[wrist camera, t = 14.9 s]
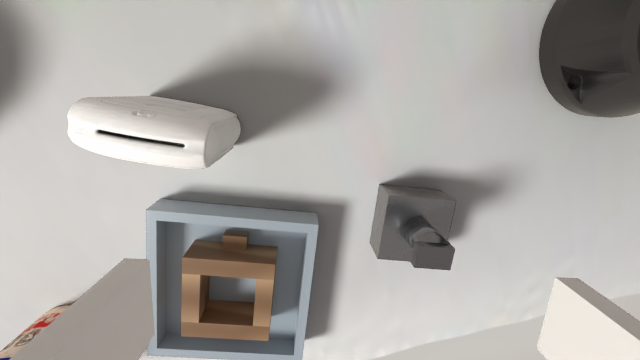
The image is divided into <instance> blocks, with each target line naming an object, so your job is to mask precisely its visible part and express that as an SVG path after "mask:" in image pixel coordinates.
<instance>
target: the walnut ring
mask: <svg viewBox="0 0 640 360" xmlns="http://www.w3.org/2000/svg"><path fill="white" fill-rule="evenodd" d="M248 241H249V232H248V231H236V230H225V232H224V234H223V241H222V242H214V241H202V240H194V242H193V243H192V245H191V246H190V247H189V249H188V250H187V252H186V253H185V254H184V256H183V257H182V305H181V336H186V337H204V338H222V339H240V340H259V341H268V339H269V331H270V323H271V315H272V304H273V294H274V283H275V272H276V261H277V251H278V247H277V246H264V245H252V244H248ZM210 276H222V277H236V278H250V279H256V290H255V302H241V301H226V300H210V299H209V286H210Z"/></svg>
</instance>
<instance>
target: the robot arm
mask: <svg viewBox="0 0 640 360" xmlns="http://www.w3.org/2000/svg"><path fill="white" fill-rule="evenodd" d="M539 60H540V68H541V73H542V77H543V80H544V82H545V84H546V87H547V88H548V90H549V92H550V93H551V95H552V96H553V97H554V98H555V100H556V101H557V102H558V103H560V104H561V105H562V106H563V107H565V108H566V109H568V110H570V111H572V112H574V113H577V114H581V115H586V116H596V117H622V116H628V115H632V114H636V113H640V0H556V2H555V4H554V5H553V7H552V9H551V11H550V13H549V15H548V17H547V19H546V22H545V25H544V28H543V31H542V35H541V40H540V49H539ZM154 335H155V331H154V317H153V303H152V289H151V275H150V261H149V260H148V259H125V258H124V259H123V260H122V261H121V262H120V263H119V264H118V265H116V266H115V267H114V268H113V269H112V270H111V271H110V272H108V273H107V274H106V275H105V276H104V277H103V278H102V279H100V280H99V281H98V282H97V283H96V284H95V285H94V286H93V287H91V288H90V289H89V290H88V291H87V292H86V293H85V294H83V295H82V296H81V297H80V298H79V299H78V300H77V301H75V302H74V303H73V304H72V305H71V306H70V307H69V308H67V309H66V310H65V311H64V312H63V313H62V314H61V315H60V316H58V317H57V318H56V319H55V320H54V321H53V322H52V323H50V324H49V325H48V326H47V327H46V328H45V329H44V330H42V331H41V332H40V333H39V334H38V335H37V336H36V337H35V338H33V339H32V340H31V341H30V342H29V343H28V344H27V345H25V346H24V347H23V348H22V349H21V350H20V351H19V352H17V353H16V354H15V355H14V356H13V357H12V358H11V359H9V360H138V359H139V358H140V356H141V355H142V353H143V352H144V350H145V349H146V347H147V346H148V344H149V343H150V341H151V339H152V338H153V336H154ZM537 349H538V350H539V351H540V352H541V353H542V354H543V356H544V357H545V358H546V359H547V360H640V321H639V320H637V319H636V318H634V317H633V316H631V315H630V314H629V313H627V312H626V311H624V310H623V309H621V308H620V307H619V306H617V305H616V304H614V303H613V302H611V301H610V300H608V299H607V298H606V297H604V296H603V295H601V294H600V293H598V292H597V291H595V290H594V289H593V288H591V287H590V286H588V285H587V284H585V283H584V282H582V281H581V280H580V279H578V278H557V277H555V281H554V285H553V289H552V292H551V296H550V300H549V304H548V307H547V311H546V315H545V319H544V322H543V326H542V330H541V333H540V337H539V341H538V345H537Z"/></svg>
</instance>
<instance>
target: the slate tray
mask: <svg viewBox="0 0 640 360" xmlns="http://www.w3.org/2000/svg"><path fill="white" fill-rule="evenodd" d="M318 227H319V223H318V216H317V213H312V212H300V211H289V210H278V209H267V208H256V207H245V206H233V205H222V204H211V203H200V202H189V201H178V200H166V199H159V200H158V201H157V202H156V203H154V204H153V205H152V206H150V207H149V208H148V209H146V259H148V260H149V261H150V275H151V289H152V303H153V317H154V331H155V335H154V336H153V338H152V339H151V341H150V343H149V344H148V346H147V354H148V356H167V357H187V358H207V359H227V360H302V356H303V348H304V340H305V332H306V324H307V316H308V308H309V300H310V292H311V284H312V276H313V268H314V260H315V251H316V243H317V235H318ZM225 230H236V231H248V232H249V241H248V244H252V245H264V246H277V247H278V251H277V261H276V272H275V283H274V294H273V304H272V315H271V323H270V331H269V339H268V341H259V340H240V339H222V338H204V337H186V336H181V305H182V257H183V256H184V254H185V253H186V252H187V250H188V249H189V247H190V246H191V245H192V243H193V242H194V240H202V241H214V242H222V241H223V234H224V232H225ZM255 290H256V279H250V278H236V277H222V276H210V286H209V299H210V300H226V301H241V302H255Z"/></svg>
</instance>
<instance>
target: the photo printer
mask: <svg viewBox="0 0 640 360" xmlns="http://www.w3.org/2000/svg"><path fill="white" fill-rule="evenodd" d="M67 118H68V121H69V128H68V135H69V137H70V139H71V140H72V141H73V142H74V143H75V144H76V145H78V146H80V147H82V148H84V149H87V150H89V151H92V152H95V153H98V154H101V155H105V156H109V157H113V158H118V159H123V160H128V161H133V162H139V163H145V164H151V165H158V166H166V167H175V168H188V169H197V168H207V167H210V166H211V165H212V164H214V163H215V162H216V161H217V160H219V159H220V158H221V157H223V156H224V155H225V154H226V153H228V152H229V151H230V150H231V149H232V148H233V144H234V143H235V142H236V141H237V140H238V138H239V136H240V133H241V127H240V123H239V120H238V119H237V115H236V114H234V113H232V112H230V111H227V110H224V109H219V108H215V107H210V106H206V105H201V104H196V103H191V102H185V101H180V100H174V99H168V98H162V97H155V96H130V97H88V98H83V99H80V100H78V101H77V102H76V103H75V104H74V105H73V106H72V107H71V109H70V111H69V112H68V116H67Z"/></svg>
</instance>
